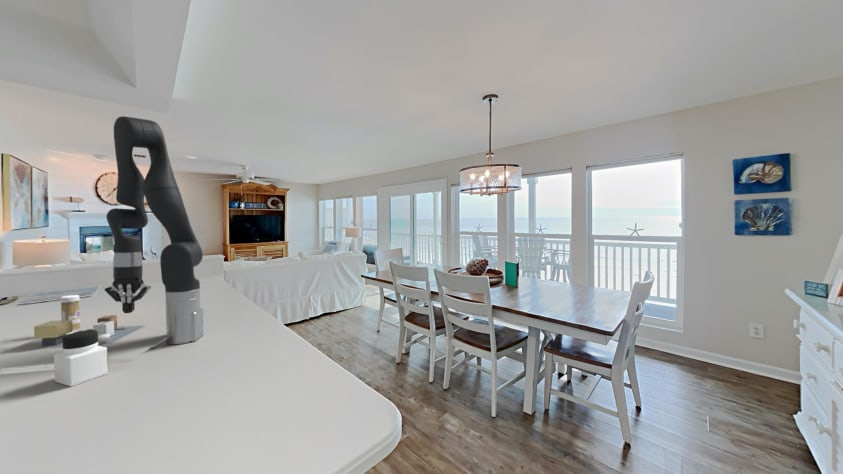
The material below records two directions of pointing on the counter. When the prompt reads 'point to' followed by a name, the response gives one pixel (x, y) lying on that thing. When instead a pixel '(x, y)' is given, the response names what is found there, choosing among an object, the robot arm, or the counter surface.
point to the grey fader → (104, 328)
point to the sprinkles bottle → (71, 310)
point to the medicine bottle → (80, 358)
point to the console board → (112, 338)
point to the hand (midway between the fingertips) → (128, 312)
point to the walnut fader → (109, 319)
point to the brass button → (53, 329)
